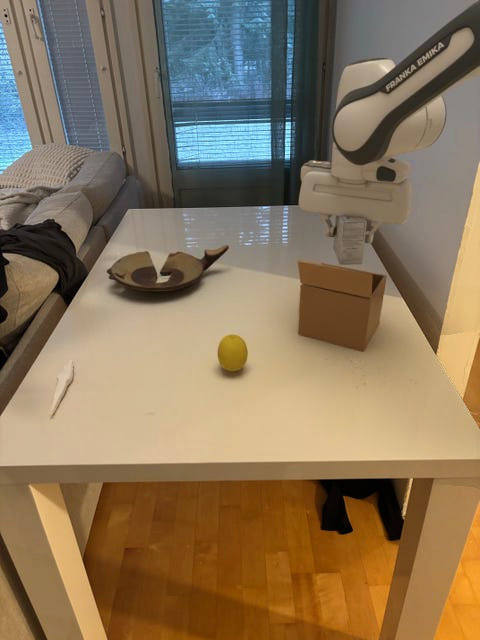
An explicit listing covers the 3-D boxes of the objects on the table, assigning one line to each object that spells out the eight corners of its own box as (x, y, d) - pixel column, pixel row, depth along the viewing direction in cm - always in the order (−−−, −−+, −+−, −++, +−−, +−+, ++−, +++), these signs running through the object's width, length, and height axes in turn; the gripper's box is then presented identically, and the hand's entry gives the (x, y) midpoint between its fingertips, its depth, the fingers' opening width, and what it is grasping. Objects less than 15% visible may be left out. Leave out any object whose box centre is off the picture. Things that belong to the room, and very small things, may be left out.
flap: (372, 274, 81) (371, 275, 81) (371, 296, 86) (370, 298, 85) (298, 259, 87) (297, 261, 87) (301, 281, 91) (300, 283, 91)
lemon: (254, 371, 87) (253, 335, 83) (231, 383, 84) (229, 347, 80) (234, 358, 91) (233, 323, 87) (212, 370, 88) (210, 334, 84)
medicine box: (362, 265, 87) (368, 220, 82) (338, 265, 87) (342, 220, 83) (354, 248, 94) (359, 206, 89) (332, 249, 94) (336, 206, 89)
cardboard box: (379, 323, 101) (386, 275, 95) (363, 351, 92) (371, 300, 86) (318, 309, 107) (321, 262, 101) (297, 334, 98) (300, 285, 92)
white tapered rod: (65, 365, 90) (63, 357, 89) (79, 364, 90) (77, 356, 89) (43, 420, 77) (41, 411, 76) (60, 418, 77) (57, 410, 76)
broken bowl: (122, 266, 129) (117, 239, 125) (230, 264, 128) (229, 238, 124) (100, 305, 110) (94, 276, 106) (227, 304, 109) (226, 274, 105)
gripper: (294, 162, 83) (292, 236, 91) (412, 174, 75) (399, 254, 82) (307, 155, 88) (304, 225, 95) (420, 165, 80) (406, 242, 87)
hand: (349, 239), depth 89 cm, fingers closed on medicine box, 6 cm apart
